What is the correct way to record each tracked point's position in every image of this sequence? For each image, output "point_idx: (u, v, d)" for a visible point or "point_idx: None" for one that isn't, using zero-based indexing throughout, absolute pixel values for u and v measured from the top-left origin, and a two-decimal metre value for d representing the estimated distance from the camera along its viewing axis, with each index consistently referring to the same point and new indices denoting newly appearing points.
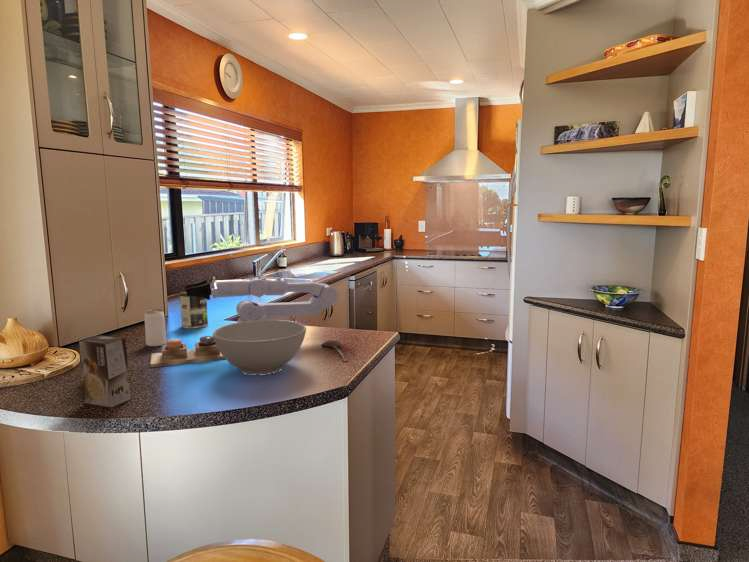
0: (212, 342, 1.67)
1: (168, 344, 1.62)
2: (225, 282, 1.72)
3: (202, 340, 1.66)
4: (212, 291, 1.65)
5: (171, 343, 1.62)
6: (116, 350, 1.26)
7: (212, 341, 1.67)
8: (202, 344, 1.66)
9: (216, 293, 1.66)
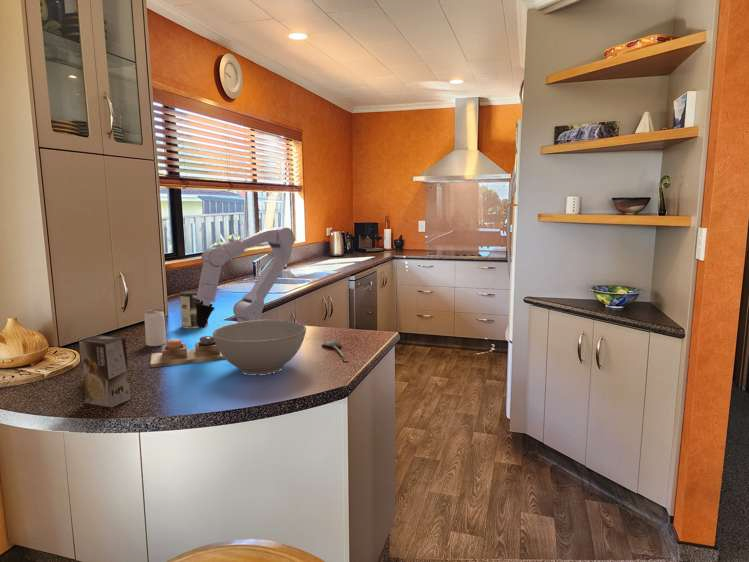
0: (212, 342, 1.67)
1: (168, 344, 1.62)
2: (200, 287, 1.65)
3: (202, 340, 1.66)
4: (205, 304, 1.60)
5: (171, 343, 1.62)
6: (116, 350, 1.26)
7: (212, 341, 1.67)
8: (202, 344, 1.66)
9: (208, 300, 1.61)
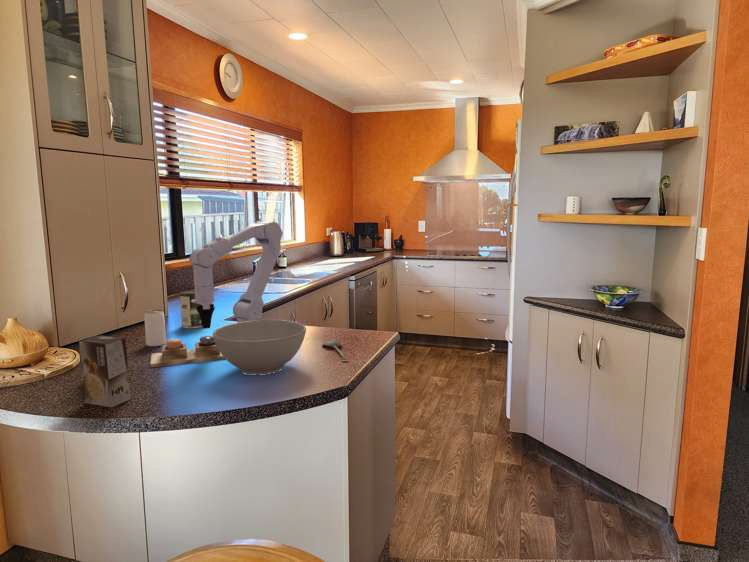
0: (212, 342, 1.67)
1: (168, 344, 1.62)
2: (196, 291, 1.63)
3: (202, 340, 1.66)
4: (205, 308, 1.59)
5: (171, 343, 1.62)
6: (116, 350, 1.26)
7: (212, 341, 1.67)
8: (202, 344, 1.66)
9: (207, 304, 1.60)
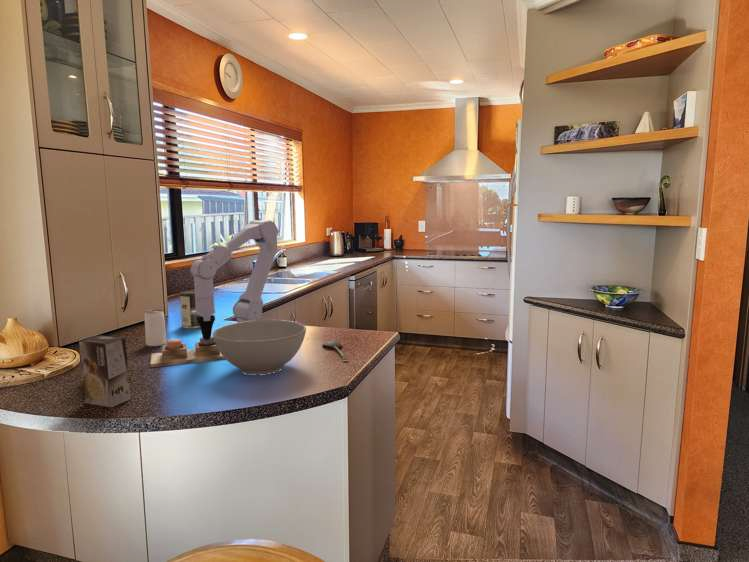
0: (212, 343, 1.67)
1: (168, 344, 1.62)
2: (197, 302, 1.64)
3: (202, 341, 1.66)
4: (206, 319, 1.60)
5: (171, 343, 1.62)
6: (116, 350, 1.26)
7: (212, 342, 1.67)
8: (202, 345, 1.66)
9: (208, 315, 1.60)
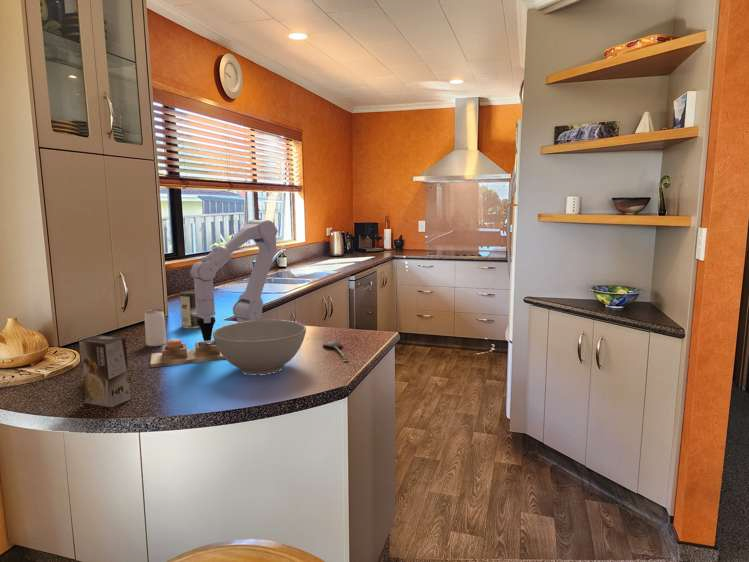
0: None
1: (168, 344, 1.62)
2: (197, 304, 1.64)
3: None
4: (206, 322, 1.60)
5: (171, 343, 1.62)
6: (116, 350, 1.26)
7: None
8: None
9: (208, 318, 1.60)
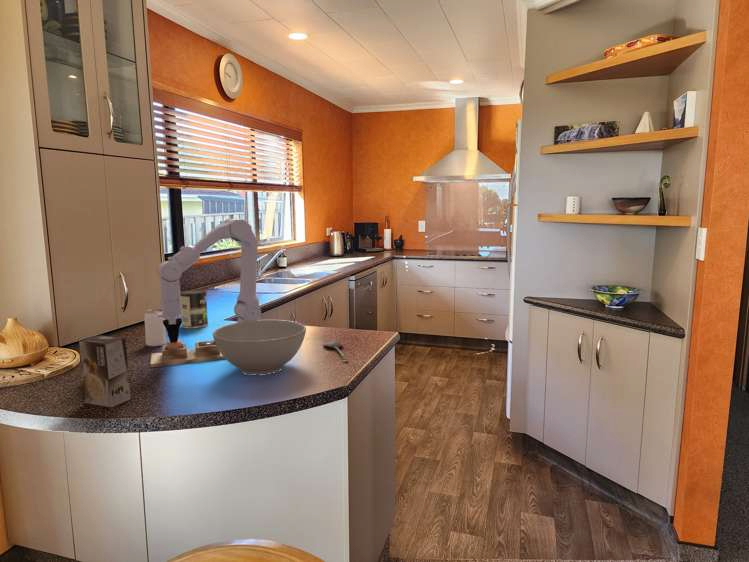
0: None
1: (168, 345, 1.62)
2: (163, 305, 1.60)
3: None
4: (171, 323, 1.56)
5: (171, 344, 1.62)
6: (116, 349, 1.26)
7: None
8: None
9: (173, 319, 1.56)
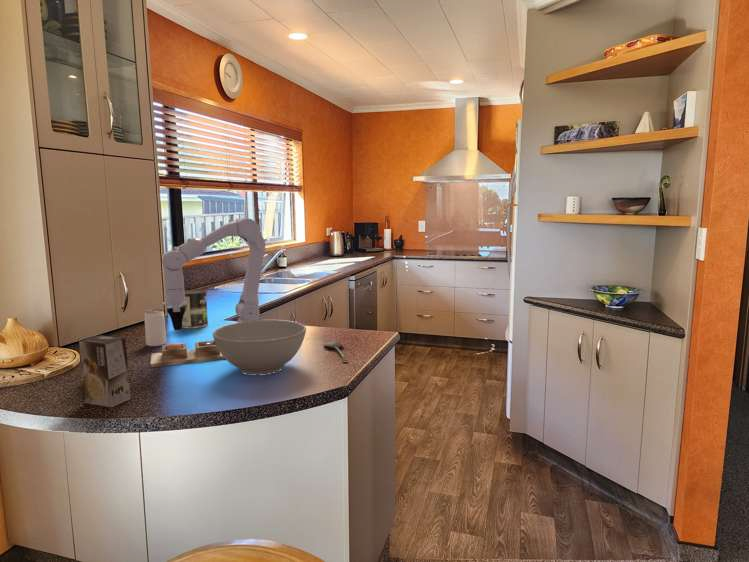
0: None
1: (168, 348, 1.63)
2: (167, 293, 1.64)
3: None
4: (175, 310, 1.60)
5: (171, 347, 1.62)
6: (116, 350, 1.26)
7: None
8: None
9: (178, 306, 1.60)
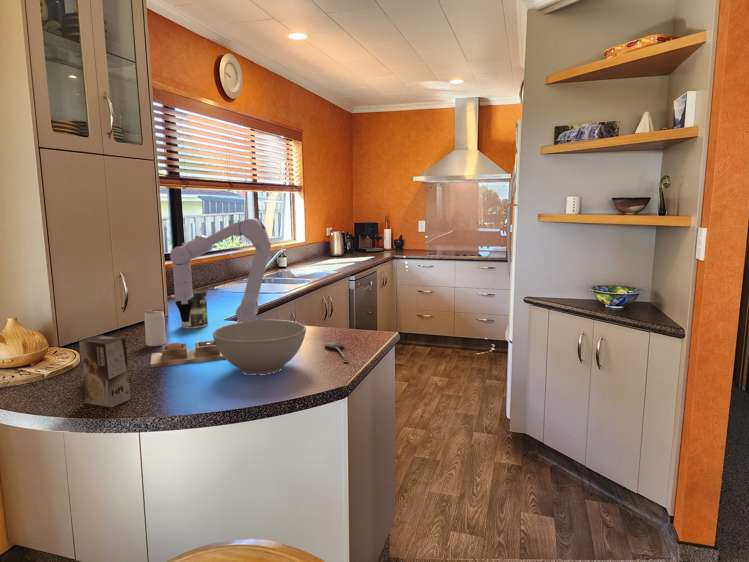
0: None
1: (168, 348, 1.63)
2: (176, 286, 1.72)
3: None
4: (184, 303, 1.68)
5: (171, 347, 1.62)
6: (116, 350, 1.26)
7: None
8: None
9: (186, 299, 1.68)
